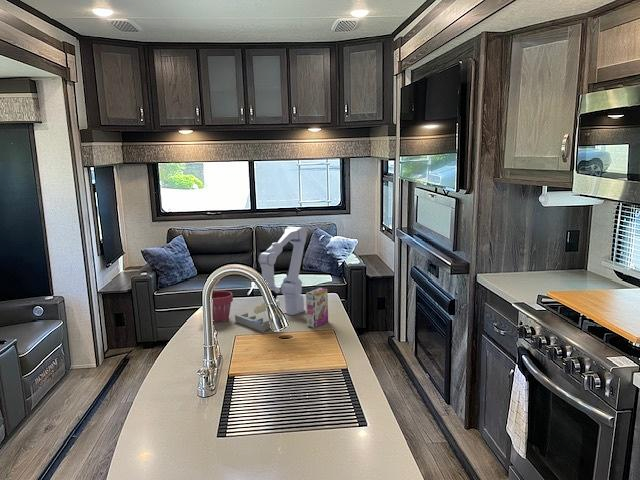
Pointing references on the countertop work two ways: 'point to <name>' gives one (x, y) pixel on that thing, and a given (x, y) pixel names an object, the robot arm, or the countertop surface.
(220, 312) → the plant pot
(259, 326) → the grey comb rack
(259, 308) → the cream cylinder column
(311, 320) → the candy bar box
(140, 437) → the countertop surface
